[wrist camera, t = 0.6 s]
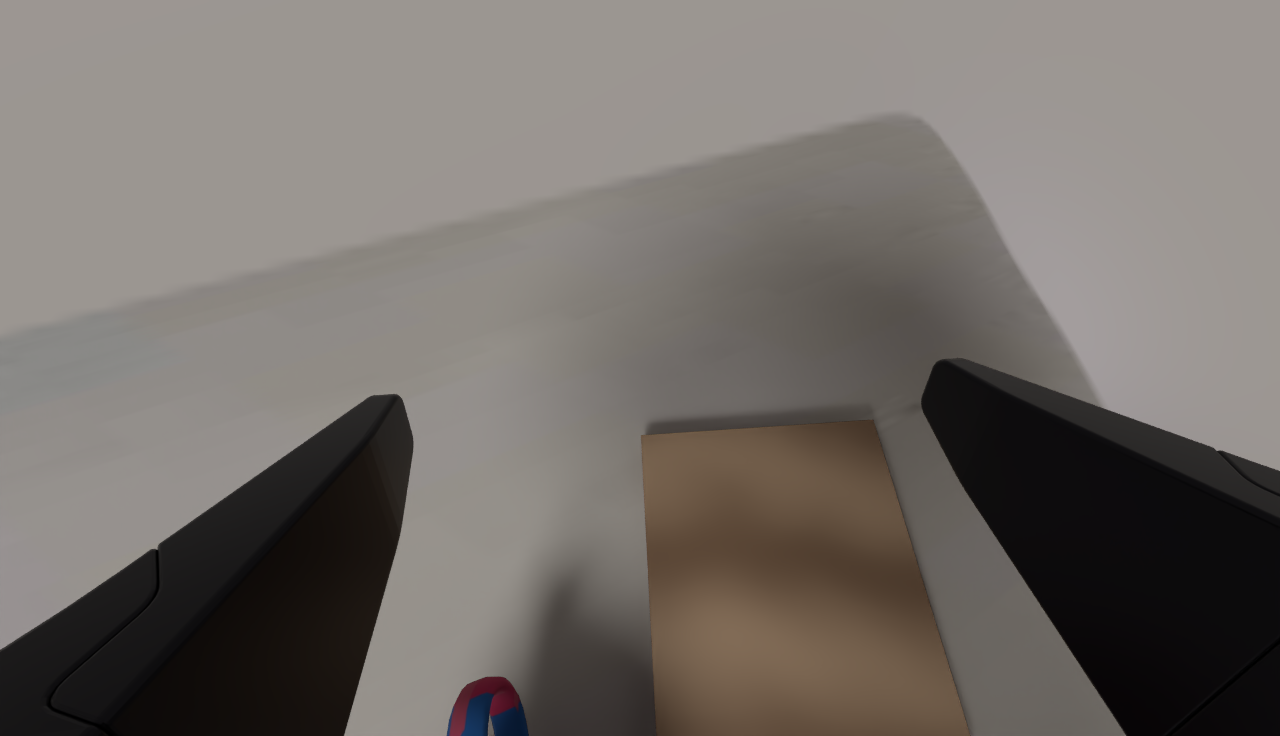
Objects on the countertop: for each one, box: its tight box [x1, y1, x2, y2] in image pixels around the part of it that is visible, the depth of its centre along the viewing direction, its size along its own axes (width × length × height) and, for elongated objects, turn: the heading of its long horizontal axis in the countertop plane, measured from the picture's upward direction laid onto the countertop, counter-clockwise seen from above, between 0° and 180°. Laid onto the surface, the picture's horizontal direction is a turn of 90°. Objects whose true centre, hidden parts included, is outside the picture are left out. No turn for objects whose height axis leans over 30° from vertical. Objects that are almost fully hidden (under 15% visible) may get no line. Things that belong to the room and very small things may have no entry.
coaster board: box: [641, 420, 970, 736], centre depth 20 cm, size 12×10×1 cm
